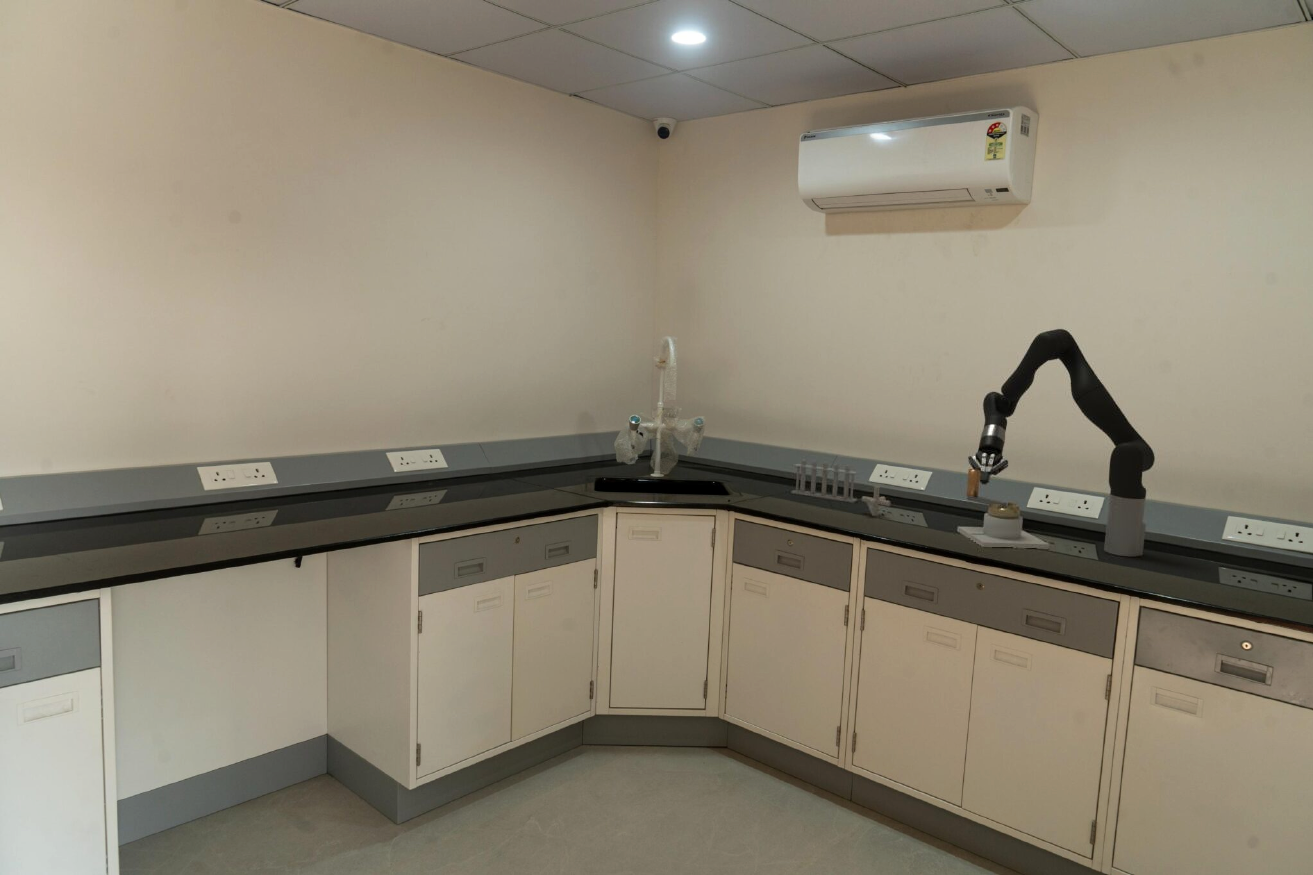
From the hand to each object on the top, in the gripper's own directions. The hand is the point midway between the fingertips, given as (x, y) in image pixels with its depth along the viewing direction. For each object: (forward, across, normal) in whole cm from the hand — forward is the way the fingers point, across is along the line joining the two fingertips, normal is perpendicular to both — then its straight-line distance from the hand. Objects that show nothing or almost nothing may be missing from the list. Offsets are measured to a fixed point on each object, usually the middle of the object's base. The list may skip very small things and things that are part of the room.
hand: (983, 482), depth 275 cm
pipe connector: (+11, -34, +11) cm, 38 cm away
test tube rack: (-3, -59, +26) cm, 64 cm away
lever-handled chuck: (+11, +4, 0) cm, 12 cm away
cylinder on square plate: (+18, +8, +4) cm, 20 cm away
